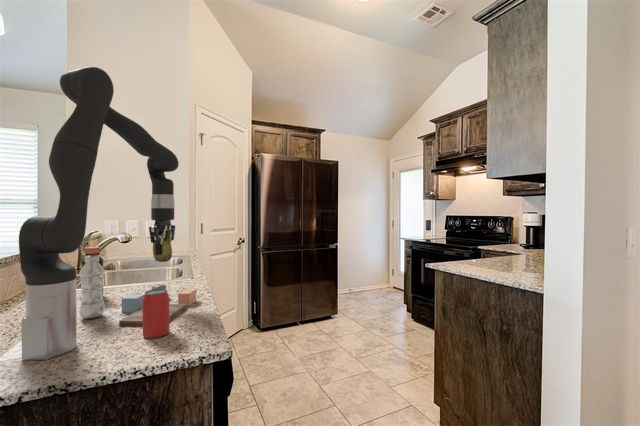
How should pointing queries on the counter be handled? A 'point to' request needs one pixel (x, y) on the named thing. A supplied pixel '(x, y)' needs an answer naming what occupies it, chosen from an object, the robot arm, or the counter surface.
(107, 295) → the counter surface
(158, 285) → the grey rounded capsule
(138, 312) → the walnut board
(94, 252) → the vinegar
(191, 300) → the terracotta block
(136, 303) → the smoky blue cube
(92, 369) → the counter surface
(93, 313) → the plastic bottle
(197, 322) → the counter surface
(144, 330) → the beer can
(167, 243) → the fennel bulb
